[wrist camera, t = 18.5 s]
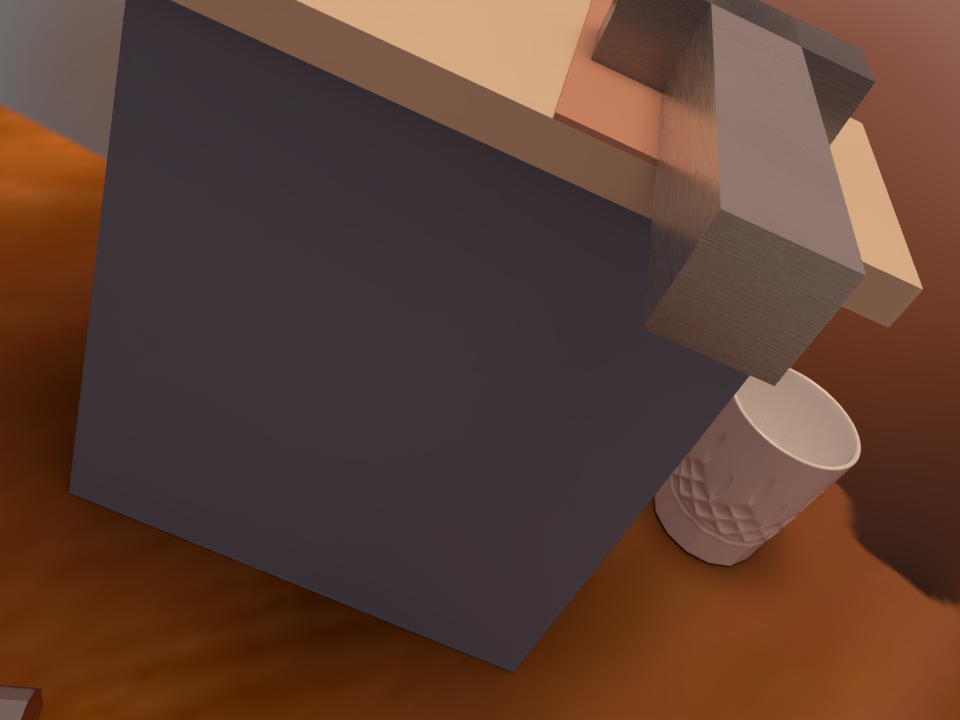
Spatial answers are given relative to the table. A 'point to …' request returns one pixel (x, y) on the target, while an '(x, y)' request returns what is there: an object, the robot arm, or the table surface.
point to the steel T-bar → (742, 174)
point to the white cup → (757, 468)
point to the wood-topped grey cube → (398, 302)
